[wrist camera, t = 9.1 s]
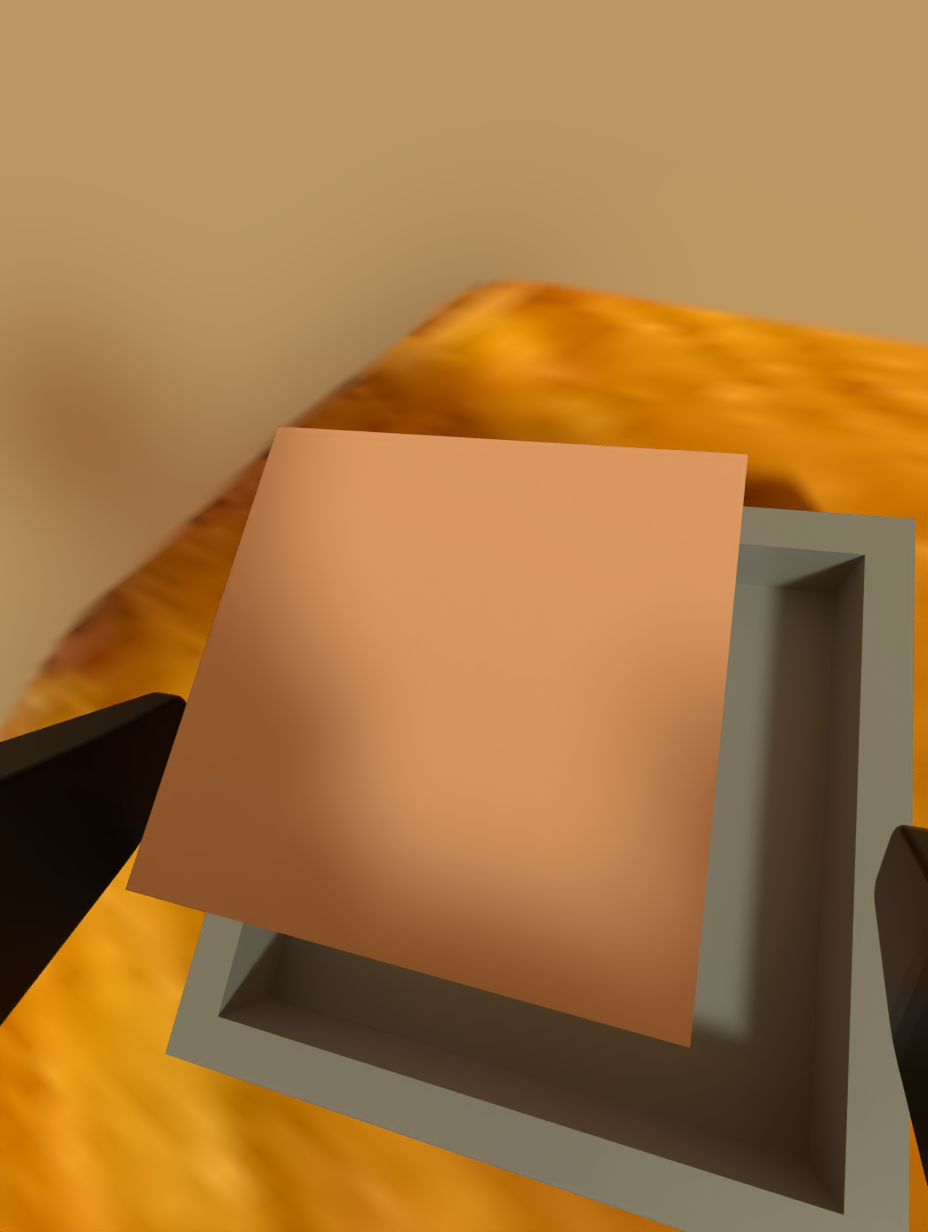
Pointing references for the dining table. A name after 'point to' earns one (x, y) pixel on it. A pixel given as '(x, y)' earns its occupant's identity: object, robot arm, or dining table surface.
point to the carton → (467, 716)
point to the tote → (728, 958)
